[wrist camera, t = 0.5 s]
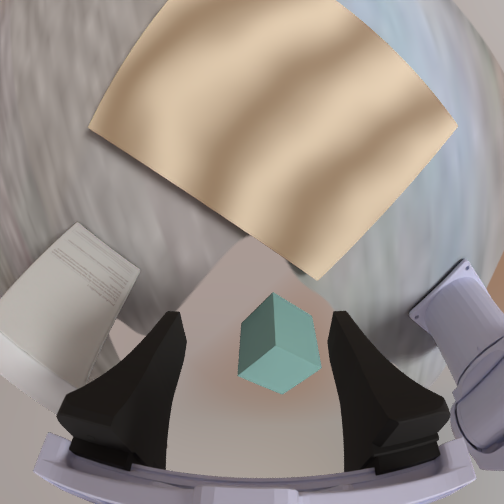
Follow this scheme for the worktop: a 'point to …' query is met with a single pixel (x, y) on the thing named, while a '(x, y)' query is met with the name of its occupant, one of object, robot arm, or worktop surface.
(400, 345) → the worktop surface
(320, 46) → the birch board
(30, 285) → the supplement box
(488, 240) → the worktop surface
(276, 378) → the teal block
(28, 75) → the worktop surface
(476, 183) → the worktop surface
